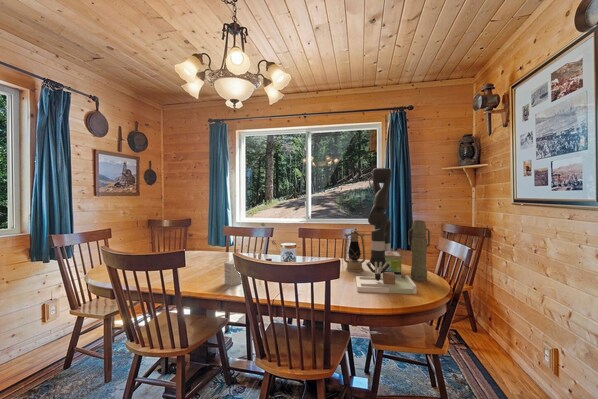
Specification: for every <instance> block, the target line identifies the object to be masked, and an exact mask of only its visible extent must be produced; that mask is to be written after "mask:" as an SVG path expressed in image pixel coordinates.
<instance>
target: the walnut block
mask: <svg viewBox="0 0 598 399" xmlns="http://www.w3.org/2000/svg"><path fill="white" fill-rule="evenodd" d="M382 277H383V283H384V284H392V285H395V274H394V272H384V273H382Z"/></svg>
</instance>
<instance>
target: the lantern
mask: <svg viewBox="0 0 598 399" xmlns="http://www.w3.org/2000/svg"><path fill="white" fill-rule="evenodd" d="M353 226H355V227H356V225H353ZM350 232H351V233H344V234H343V235H344V238H343V239H344V240H343V241H344V247H343V261H344V262H345V263H347V264H346V265H347V266H346V268H345V270H346V271H348V272H354V273H358V272H359V273H360V272H364V267H363V263H364V262H365V261H366V249H365V238H364V237H365V234H364V233H358V232H359V230H358V229H357V228H353V229H350ZM349 236H350V237H349ZM359 236H360V237H359ZM348 238H349V239H350V242H349V245H347V243H348ZM359 239H360V240H361V245H362V247H361V246H360V244H359ZM361 248H362V249H361ZM347 249H348V250H347ZM361 250H362V251H361ZM347 254H348V260H347V258H346V257H347ZM361 255H363V256H362V257H361Z"/></svg>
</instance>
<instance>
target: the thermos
mask: <svg viewBox="0 0 598 399" xmlns="http://www.w3.org/2000/svg"><path fill="white" fill-rule="evenodd" d="M407 232H408V233H407V236H408V239H407V240H408V241H407V242H408V246H410V250H411V267H410V276H411V277H410V279H411V280H412V281H413V282H418V283H419V282H422V283H424V282H427V280H428V279H427V277H428V268H427V251H428V247H430V246H431V231H430V229H429V228H427V225H426V222H425V221H424V220H420V219H419V220H414V221H413V222H412V226H411V228H409V229H408V231H407ZM411 234H412V236H411Z"/></svg>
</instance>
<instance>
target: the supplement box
mask: <svg viewBox="0 0 598 399" xmlns="http://www.w3.org/2000/svg"><path fill="white" fill-rule="evenodd" d="M223 268H224V284H225V285H226V286H230V287H234V286H237V285H240V284H242V283H241V277H240V274H239V273H238V272H237V271H236V270H235V267H234V262H233V260H228V261H224V267H223Z"/></svg>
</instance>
